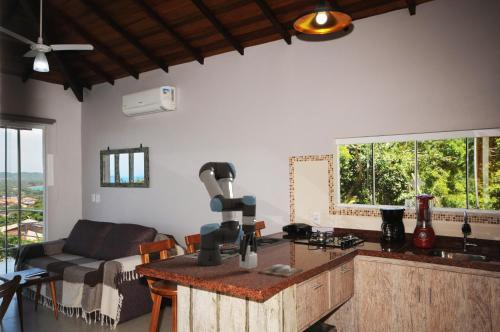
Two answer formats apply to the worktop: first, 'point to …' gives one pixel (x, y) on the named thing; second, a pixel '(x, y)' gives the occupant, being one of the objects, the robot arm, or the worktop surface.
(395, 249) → the worktop surface
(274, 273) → the stand
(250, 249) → the medicine bottle
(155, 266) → the worktop surface
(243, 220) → the robot arm
